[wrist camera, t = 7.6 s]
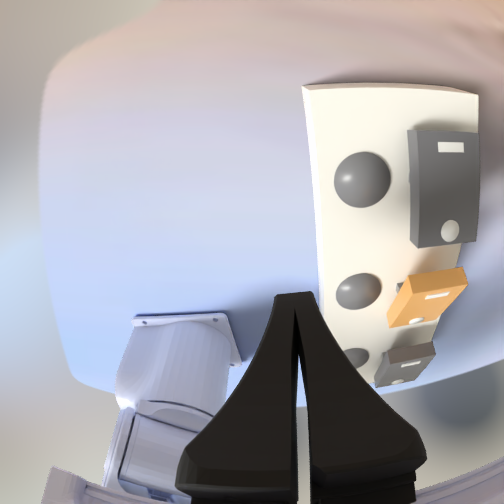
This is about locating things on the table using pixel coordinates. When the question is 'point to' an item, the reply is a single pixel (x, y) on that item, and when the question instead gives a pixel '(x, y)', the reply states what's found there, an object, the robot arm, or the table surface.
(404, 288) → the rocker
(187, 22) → the table surface
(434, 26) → the table surface
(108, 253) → the table surface
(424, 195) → the rocker
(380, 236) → the switch panel
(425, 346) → the block
